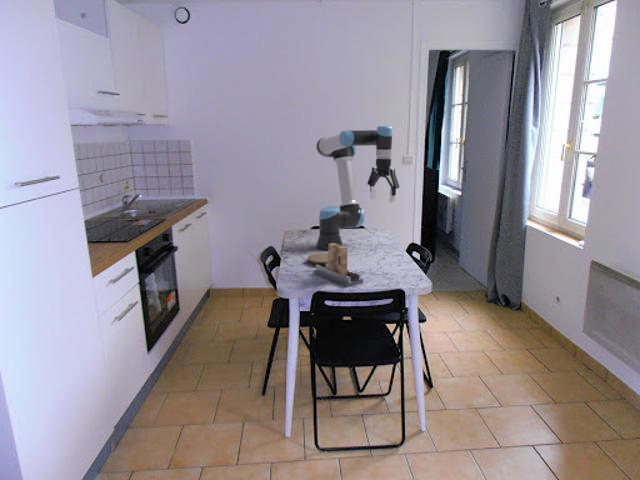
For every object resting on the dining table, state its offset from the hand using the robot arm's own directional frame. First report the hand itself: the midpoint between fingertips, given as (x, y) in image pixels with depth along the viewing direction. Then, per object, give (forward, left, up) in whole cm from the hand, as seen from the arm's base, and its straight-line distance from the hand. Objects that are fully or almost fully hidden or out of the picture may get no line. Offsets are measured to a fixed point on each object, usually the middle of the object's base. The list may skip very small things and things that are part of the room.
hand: (382, 200), depth 228 cm
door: (+8, -36, -30) cm, 48 cm away
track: (+8, -36, -32) cm, 49 cm away
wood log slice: (-16, -26, -32) cm, 44 cm away
